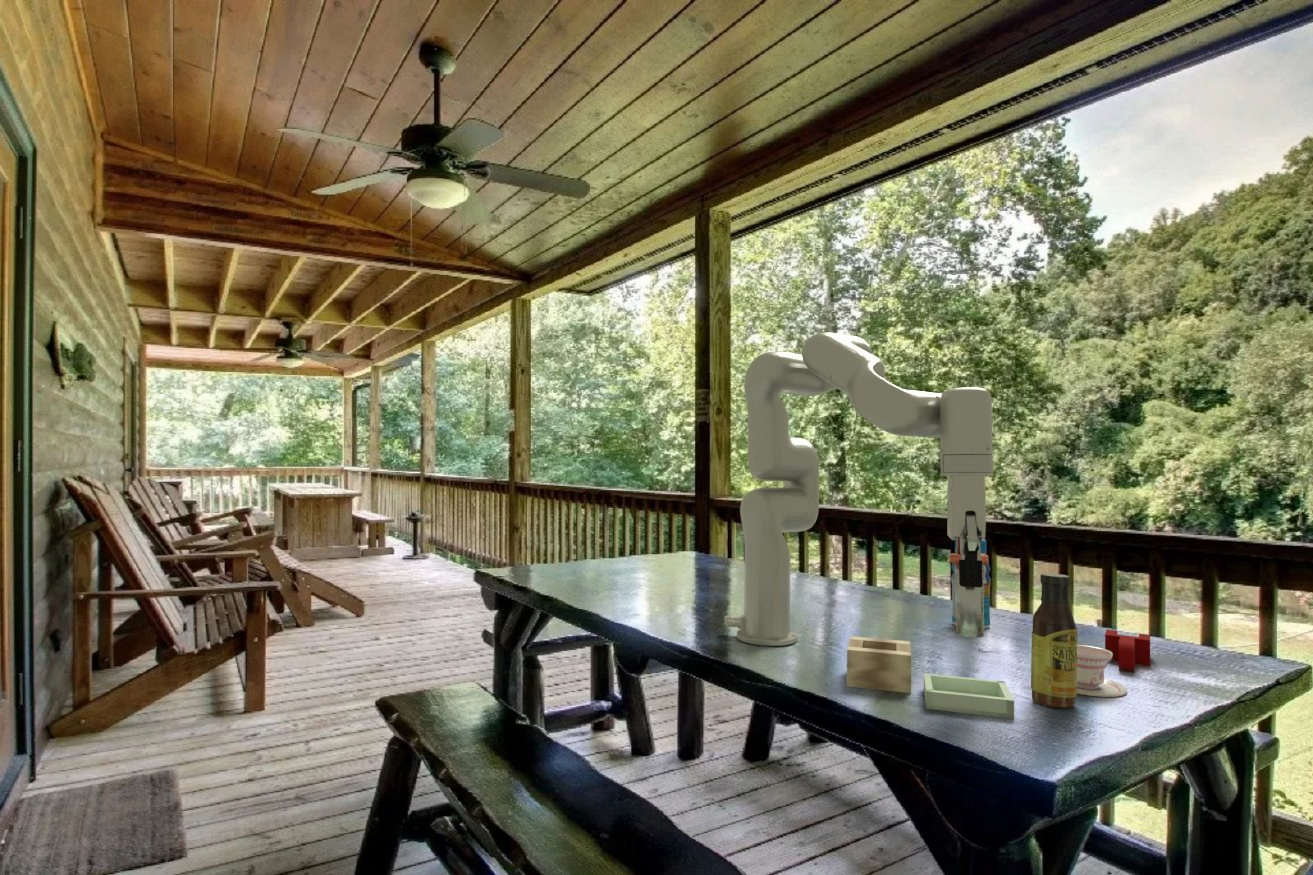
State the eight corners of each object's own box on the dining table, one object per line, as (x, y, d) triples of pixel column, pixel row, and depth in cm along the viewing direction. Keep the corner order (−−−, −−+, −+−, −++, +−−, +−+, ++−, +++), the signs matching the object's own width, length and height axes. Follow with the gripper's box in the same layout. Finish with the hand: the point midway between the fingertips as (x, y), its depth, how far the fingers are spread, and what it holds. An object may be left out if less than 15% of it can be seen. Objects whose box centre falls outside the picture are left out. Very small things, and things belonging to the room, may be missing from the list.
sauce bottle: (1057, 712, 107) (1057, 578, 108) (1021, 699, 113) (1021, 572, 113) (1087, 707, 110) (1086, 576, 110) (1050, 694, 115) (1049, 571, 116)
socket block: (847, 686, 118) (847, 649, 118) (850, 670, 128) (850, 636, 128) (911, 693, 115) (911, 655, 115) (910, 676, 124) (910, 641, 125)
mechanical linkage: (1107, 652, 144) (1106, 627, 144) (1150, 658, 140) (1150, 632, 140) (1103, 670, 131) (1102, 642, 131) (1150, 677, 127) (1150, 649, 127)
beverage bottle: (947, 626, 164) (947, 539, 165) (955, 620, 171) (955, 536, 172) (987, 631, 160) (986, 541, 160) (994, 625, 166) (993, 538, 167)
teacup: (1103, 703, 112) (1103, 663, 112) (1029, 683, 122) (1029, 646, 122) (1141, 691, 118) (1141, 654, 118) (1068, 673, 128) (1067, 638, 129)
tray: (926, 708, 108) (926, 691, 108) (923, 689, 117) (923, 673, 117) (1014, 718, 104) (1014, 700, 104) (1004, 698, 113) (1004, 681, 113)
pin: (951, 637, 109) (950, 556, 109) (949, 629, 114) (947, 552, 115) (992, 639, 107) (990, 557, 108) (987, 632, 112) (986, 553, 113)
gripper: (937, 467, 121) (939, 575, 120) (944, 466, 105) (946, 590, 104) (986, 467, 119) (988, 577, 118) (1000, 466, 103) (1003, 593, 101)
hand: (968, 582), depth 111 cm, fingers closed on pin, 5 cm apart
